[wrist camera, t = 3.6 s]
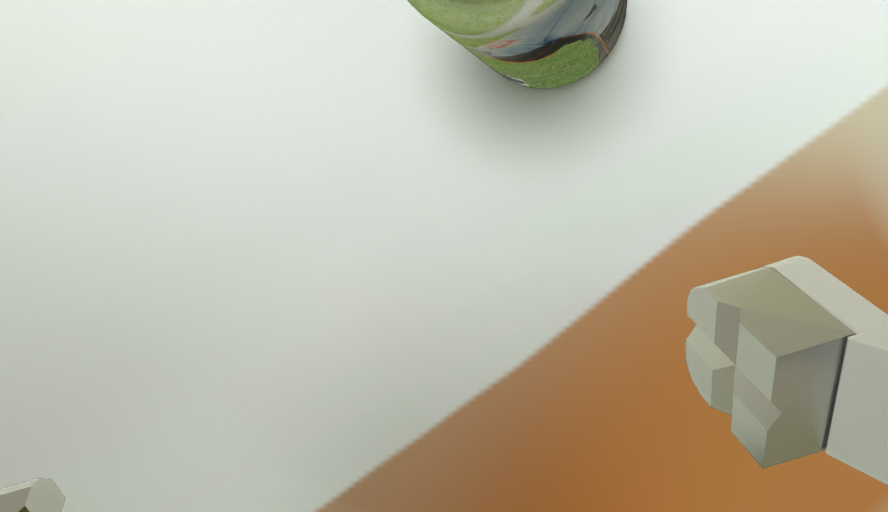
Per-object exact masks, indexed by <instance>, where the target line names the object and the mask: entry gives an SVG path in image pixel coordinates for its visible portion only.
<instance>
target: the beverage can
mask: <svg viewBox="0 0 888 512" xmlns="http://www.w3.org/2000/svg"><path fill="white" fill-rule="evenodd" d="M408 2H409V3H410V4H411V5H412V6H413V7H414V8H415V9H416V10H417V11H418V12H419V13H420V14H421V15H423V16H424V17H425V18H427V19H428V20H429V21H430V22H432V23H433V24H434V25H436V26H437V27H438V28H440V29H441V30H442V31H444V32H445V33H446V34H448V35H449V36H450V37H451V38H453V39H454V40H455V41H457V42H458V43H459V44H461V45H462V46H463V47H465V48H466V49H467V50H469V51H470V52H471V53H472V54H474V55H475V56H476V57H478V58H479V59H480V60H482V61H483V62H484V63H486V64H487V65H488V66H490V67H491V68H492V69H494V70H495V71H496V72H497V73H499V74H500V75H502V76H503V77H505V78H506V79H508V80H509V81H512V82H514V83H517V84H519V85H522V86H527V87H531V88H553V87H559V86H563V85H566V84H569V83H572V82H575V81H576V80H578V79H580V78H582V77H584V76H586V75H587V74H588V73H590V72H591V71H592V70H594V69H595V68H596V67H598V66H599V64H600V63H601V62H602V61H603V60H604V59H605V58H606V57H607V56H608V54H609V53H610V51H611V50H612V49H613V47H614V46H615V44H616V42H617V40H618V38H619V35H620V33H621V31H622V28H623V24H624V21H625V17H626V7H627V0H408Z"/></svg>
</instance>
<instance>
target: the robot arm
mask: <svg viewBox="0 0 888 512" xmlns="http://www.w3.org/2000/svg"><path fill="white" fill-rule="evenodd" d="M687 315H688V316H689V317H690V318H691V319H692V320H693V321H694V322H695V323H696V326H695V327H694V329H693V330H692V332H691V334H690V335H689V336H688V338H687V340H686V361H687V365H688V368H689V372H690V375H691V378H692V381H693V382H694V384H695V386H696V388H697V389H698V391H699V393H700V394H701V396H702V397H703V398H704V399H705V400H706V402H707V403H708V404H709V405H710V407H712V408H715V409H717V410H720V411H722V412H724V413H727V414H729V415H731V432H732V433H733V434H734V435H735V436H736V438H737V439H738V440H739V441H740V442H741V444H742V445H743V446H744V447H745V448H746V449H747V451H748V452H749V453H750V454H751V455H752V457H753V458H754V459H755V460H756V461H757V462H758V464H759V465H760V466H761V467H762V468H766V467H769V466H773V465H777V464H780V463H783V462H786V461H790V460H793V459H797V458H800V457H803V456H807V455H810V454H813V453H817V452H820V451H823V450H826V454H828V455H830V456H832V457H833V458H835V459H837V460H840V461H841V462H844V463H845V464H847V465H849V466H851V467H853V468H855V469H857V470H859V471H861V472H863V473H865V474H867V475H869V476H871V477H873V478H875V479H877V480H879V481H881V482H883V483H885V484H887V485H888V315H887V314H886V313H884V312H883V311H881V310H880V309H879V308H877V307H876V306H875V305H873V304H872V303H870V302H869V301H868V300H866V299H865V298H863V297H862V296H861V295H859V294H858V293H856V292H855V291H854V290H852V289H851V288H849V287H848V286H847V285H845V284H844V283H842V282H841V281H840V280H838V279H837V278H835V277H834V276H833V275H831V274H830V273H828V272H827V271H826V270H824V269H823V268H822V267H820V266H819V265H817V264H816V263H815V262H813V261H812V260H810V259H808V258H805V257H801V256H794V257H791V258H788V259H785V260H782V261H778V262H775V263H772V264H769V265H766V266H763V267H762V268H760V269H755V270H752V271H748V272H745V273H742V274H738V275H735V276H732V277H728V278H725V279H722V280H718V281H715V282H712V283H708V284H705V285H701V286H698V287H695V288H692V289H691V292H690V294H689V296H688V298H687ZM64 502H65V496H64V495H63V494H62V492H61V491H60V490H59V488H58V487H57V486H56V484H55V483H54V482H53V480H52V479H44V478H38V479H34V480H31V481H27V482H23V483H19V484H16V485H12V486H8V487H4V488H1V489H0V512H62V509H63V505H64Z"/></svg>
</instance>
